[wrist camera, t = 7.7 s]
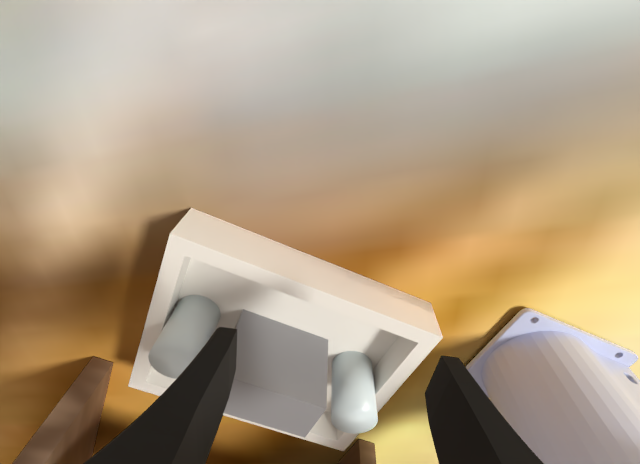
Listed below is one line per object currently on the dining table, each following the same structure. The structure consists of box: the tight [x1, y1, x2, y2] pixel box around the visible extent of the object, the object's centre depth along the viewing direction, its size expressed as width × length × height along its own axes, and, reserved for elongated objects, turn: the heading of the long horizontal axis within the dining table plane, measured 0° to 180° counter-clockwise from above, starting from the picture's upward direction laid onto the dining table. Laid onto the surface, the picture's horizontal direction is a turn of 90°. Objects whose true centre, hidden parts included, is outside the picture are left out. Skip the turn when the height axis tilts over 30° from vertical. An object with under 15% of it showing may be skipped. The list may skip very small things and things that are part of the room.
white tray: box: [128, 208, 443, 451], centre depth 22 cm, size 16×13×6 cm
